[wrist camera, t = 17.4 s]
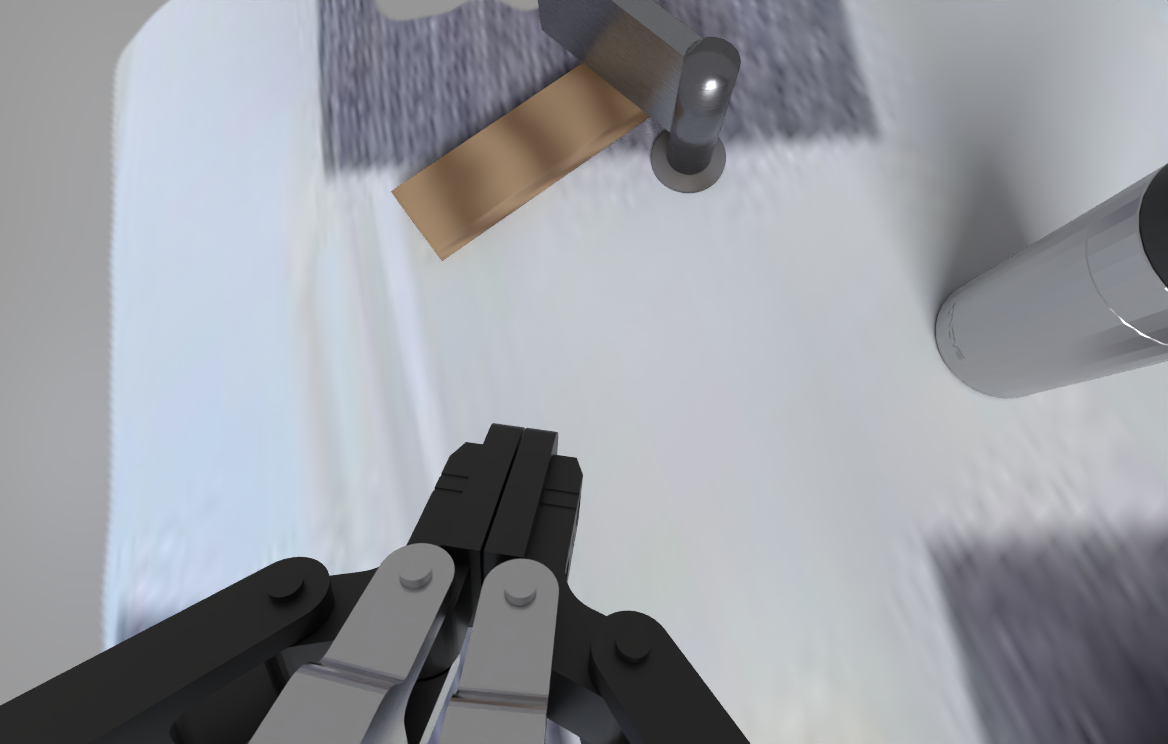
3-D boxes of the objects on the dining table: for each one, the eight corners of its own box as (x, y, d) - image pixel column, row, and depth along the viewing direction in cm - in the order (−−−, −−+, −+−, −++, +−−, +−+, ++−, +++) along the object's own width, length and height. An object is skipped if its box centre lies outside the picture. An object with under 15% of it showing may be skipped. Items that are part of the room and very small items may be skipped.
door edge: (618, 4, 51) (620, -85, 44) (756, 153, 48) (785, 86, 40) (372, 167, 49) (328, 103, 41) (499, 337, 45) (477, 304, 37)
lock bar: (720, 153, 47) (752, 59, 37) (690, 183, 47) (714, 96, 37) (566, 30, 50) (557, -88, 40) (537, 57, 50) (520, -55, 40)
